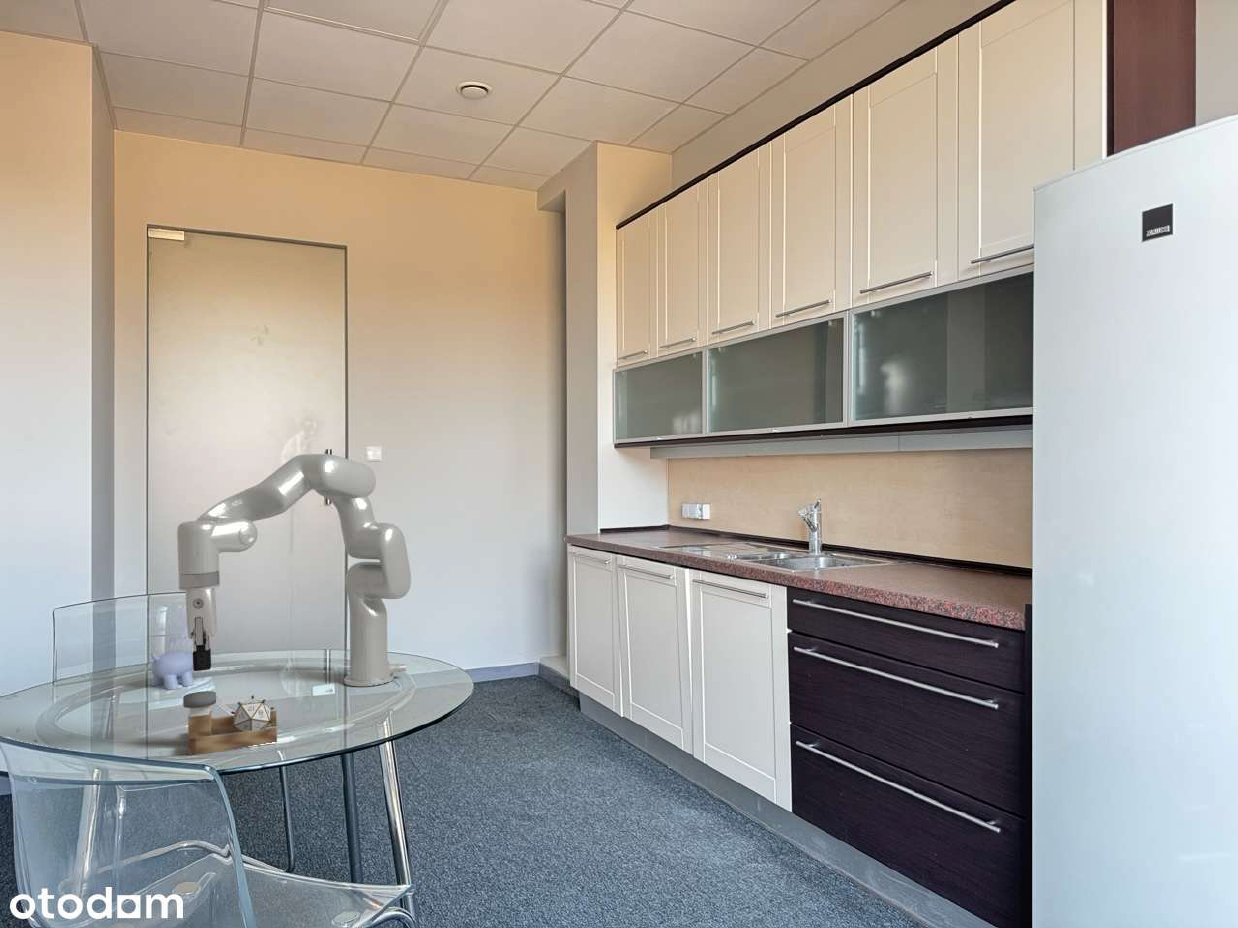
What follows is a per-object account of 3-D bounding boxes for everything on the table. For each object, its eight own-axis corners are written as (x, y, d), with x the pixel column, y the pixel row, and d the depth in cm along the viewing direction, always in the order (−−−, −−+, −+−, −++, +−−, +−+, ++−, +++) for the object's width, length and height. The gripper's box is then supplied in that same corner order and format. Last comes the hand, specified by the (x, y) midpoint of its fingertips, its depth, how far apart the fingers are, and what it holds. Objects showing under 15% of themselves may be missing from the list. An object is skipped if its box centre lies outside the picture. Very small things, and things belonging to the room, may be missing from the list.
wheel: (217, 707, 173) (216, 689, 173) (215, 715, 167) (215, 696, 167) (184, 711, 170) (184, 693, 170) (182, 719, 165) (181, 700, 165)
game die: (248, 751, 174) (250, 706, 180) (283, 738, 173) (283, 693, 179) (218, 742, 167) (220, 695, 173) (254, 728, 166) (255, 682, 171)
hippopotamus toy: (218, 680, 222) (217, 644, 222) (161, 692, 209) (161, 655, 209) (196, 675, 227) (195, 640, 227) (139, 687, 215) (139, 650, 215)
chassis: (276, 724, 181) (276, 688, 181) (276, 743, 168) (276, 705, 168) (192, 734, 174) (191, 697, 174) (185, 755, 161) (185, 715, 161)
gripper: (217, 584, 164) (220, 675, 164) (221, 574, 177) (224, 659, 178) (175, 587, 161) (178, 680, 161) (182, 577, 174) (185, 663, 175)
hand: (202, 669), depth 169 cm, fingers closed
